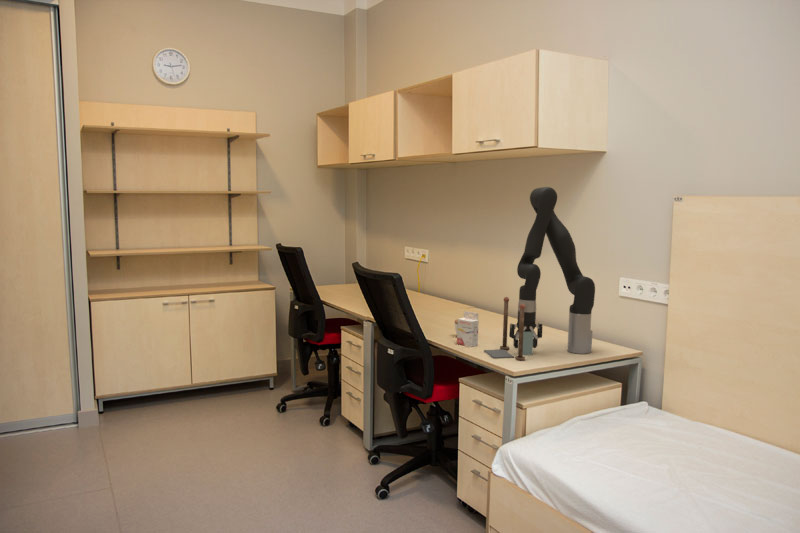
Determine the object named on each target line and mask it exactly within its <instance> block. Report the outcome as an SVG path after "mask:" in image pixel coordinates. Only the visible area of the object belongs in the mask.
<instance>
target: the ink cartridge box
mask: <svg viewBox="0 0 800 533" xmlns="http://www.w3.org/2000/svg"><path fill="white" fill-rule="evenodd" d="M457 319H458V329H457V333H456V344H457V345H461V346H466V347H470V348H472V347H476V346H478V342H479V313H478V312H473V311H465V310H464V311H463V317H460V318H457Z"/></svg>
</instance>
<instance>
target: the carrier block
mask: <svg viewBox="0 0 800 533" xmlns="http://www.w3.org/2000/svg"><path fill="white" fill-rule="evenodd" d="M533 350H534V349H533V332H531V331H524V332H523V356H532V355H533Z"/></svg>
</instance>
